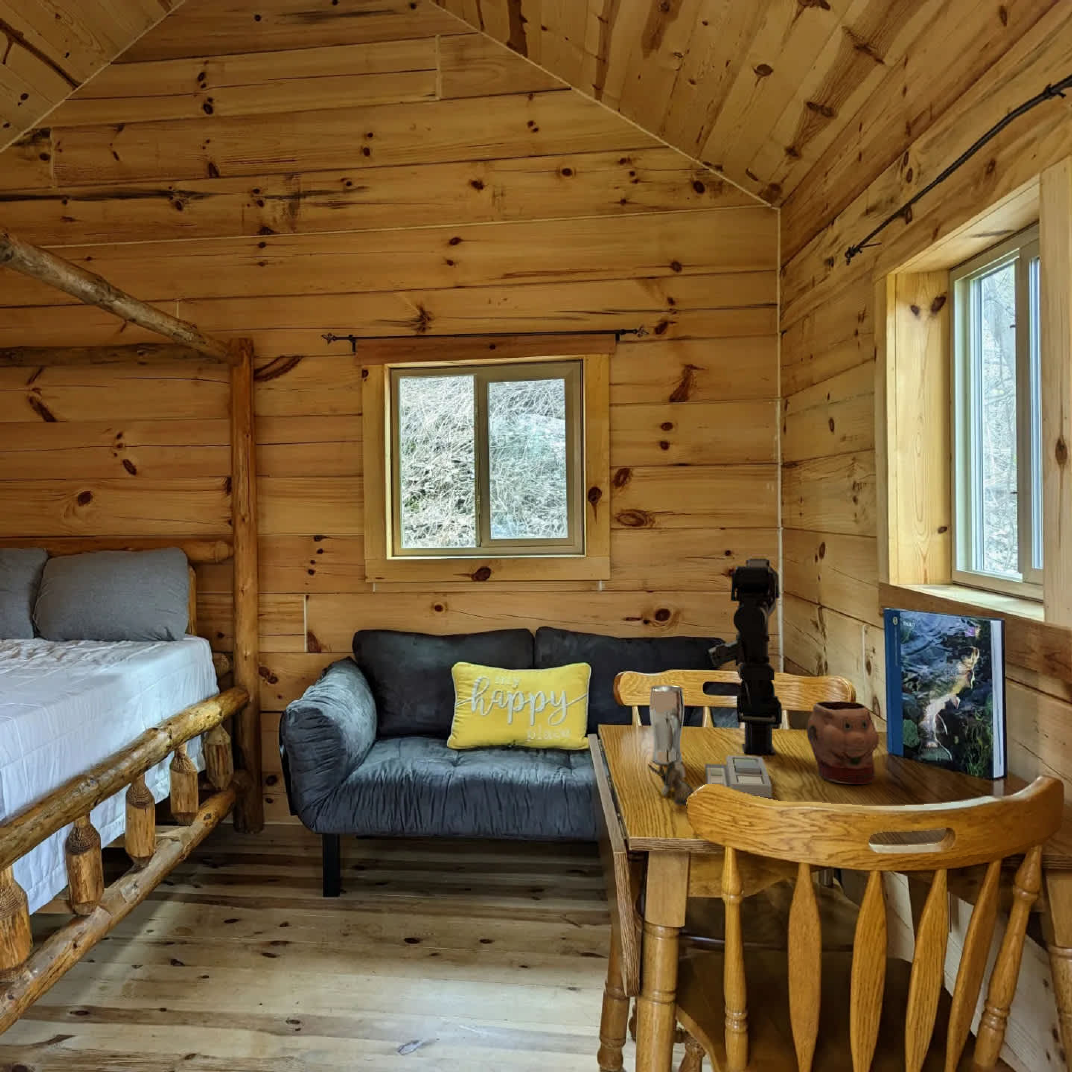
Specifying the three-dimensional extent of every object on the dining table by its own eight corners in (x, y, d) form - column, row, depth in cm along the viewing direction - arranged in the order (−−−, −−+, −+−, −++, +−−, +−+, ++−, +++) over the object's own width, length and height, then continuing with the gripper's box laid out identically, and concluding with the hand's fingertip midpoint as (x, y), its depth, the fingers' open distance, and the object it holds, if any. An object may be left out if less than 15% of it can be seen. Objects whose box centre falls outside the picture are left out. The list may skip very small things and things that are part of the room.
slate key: (735, 769, 144) (735, 761, 144) (757, 770, 143) (757, 762, 143) (737, 776, 140) (737, 767, 140) (760, 777, 139) (759, 768, 139)
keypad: (705, 768, 153) (704, 753, 153) (762, 771, 150) (762, 756, 150) (707, 801, 134) (707, 783, 134) (773, 804, 132) (772, 787, 132)
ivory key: (737, 785, 139) (737, 776, 139) (760, 786, 138) (760, 777, 138) (739, 792, 135) (739, 783, 135) (762, 793, 134) (762, 784, 134)
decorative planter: (789, 761, 157) (789, 693, 157) (848, 759, 158) (847, 692, 158) (833, 793, 137) (832, 715, 137) (899, 791, 138) (898, 714, 138)
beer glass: (668, 768, 153) (668, 692, 153) (642, 760, 158) (642, 687, 158) (691, 761, 157) (690, 688, 157) (665, 754, 163) (664, 683, 163)
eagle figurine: (638, 784, 140) (656, 791, 131) (655, 749, 142) (675, 753, 133) (672, 805, 140) (693, 813, 132) (689, 770, 142) (711, 775, 134)
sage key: (734, 767, 150) (734, 758, 150) (755, 768, 149) (755, 759, 149) (735, 773, 146) (735, 764, 146) (757, 774, 145) (757, 765, 145)
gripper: (709, 623, 162) (710, 697, 162) (712, 634, 144) (713, 718, 144) (764, 624, 160) (765, 699, 160) (774, 635, 142) (775, 720, 142)
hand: (753, 708), depth 152 cm, fingers closed
